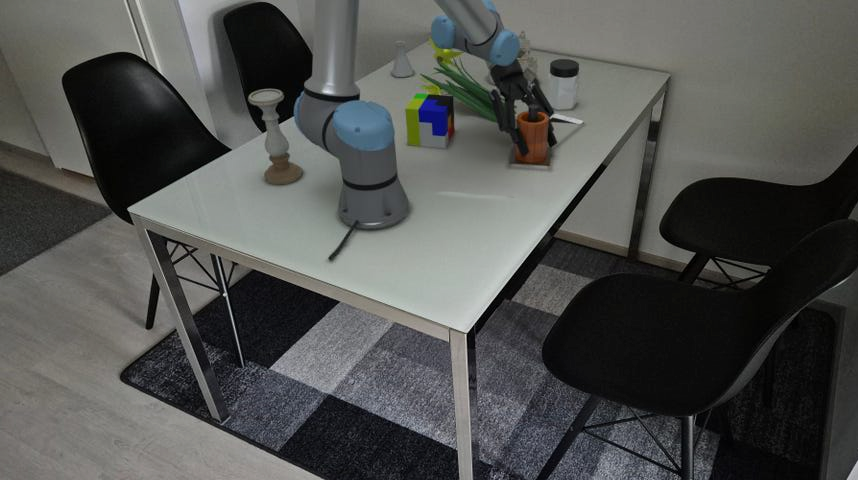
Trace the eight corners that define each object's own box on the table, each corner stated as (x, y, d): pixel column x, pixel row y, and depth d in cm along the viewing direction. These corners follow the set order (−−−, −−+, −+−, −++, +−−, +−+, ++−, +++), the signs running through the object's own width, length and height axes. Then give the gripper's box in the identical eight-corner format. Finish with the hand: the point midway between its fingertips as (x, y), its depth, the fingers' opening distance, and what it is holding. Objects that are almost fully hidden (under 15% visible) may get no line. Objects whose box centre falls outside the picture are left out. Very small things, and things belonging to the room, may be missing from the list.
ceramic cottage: (487, 71, 204) (489, 25, 194) (537, 74, 203) (542, 28, 193) (485, 93, 192) (487, 45, 182) (539, 96, 192) (544, 48, 182)
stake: (549, 170, 153) (553, 116, 144) (508, 167, 154) (510, 113, 145) (551, 151, 160) (555, 99, 152) (512, 148, 162) (514, 96, 153)
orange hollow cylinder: (545, 163, 153) (547, 125, 147) (514, 161, 154) (515, 123, 148) (547, 149, 159) (549, 111, 153) (517, 147, 160) (518, 110, 154)
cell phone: (584, 123, 173) (584, 120, 172) (553, 149, 161) (553, 145, 160) (555, 116, 177) (555, 113, 176) (523, 140, 165) (523, 137, 164)
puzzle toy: (445, 148, 162) (444, 111, 156) (408, 144, 164) (405, 108, 157) (454, 131, 170) (453, 96, 163) (418, 128, 171) (416, 93, 165)
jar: (570, 112, 179) (574, 71, 172) (543, 107, 182) (546, 67, 174) (579, 100, 186) (583, 60, 178) (553, 96, 188) (555, 56, 181)
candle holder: (263, 170, 153) (243, 90, 140) (299, 164, 155) (283, 85, 143) (266, 188, 146) (246, 105, 134) (304, 181, 149) (288, 99, 136)
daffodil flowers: (486, 141, 167) (390, 78, 177) (506, 148, 180) (416, 89, 191) (519, 84, 162) (419, 23, 172) (537, 95, 175) (443, 37, 186)
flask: (389, 71, 205) (386, 40, 199) (411, 68, 207) (409, 37, 201) (393, 79, 200) (391, 47, 193) (416, 76, 201) (414, 45, 195)
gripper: (530, 63, 161) (565, 144, 160) (461, 80, 152) (498, 166, 151) (544, 48, 154) (580, 133, 153) (473, 65, 145) (512, 155, 145)
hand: (539, 149), depth 152 cm, fingers closed on orange hollow cylinder, 8 cm apart
